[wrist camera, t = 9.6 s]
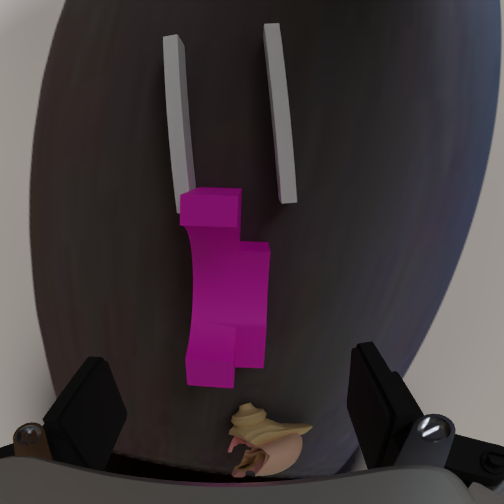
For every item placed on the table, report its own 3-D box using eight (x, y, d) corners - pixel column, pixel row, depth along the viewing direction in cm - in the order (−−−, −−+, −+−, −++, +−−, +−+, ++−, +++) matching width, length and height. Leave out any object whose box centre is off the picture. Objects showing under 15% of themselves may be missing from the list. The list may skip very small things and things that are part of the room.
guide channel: (276, 36, 23) (279, 23, 20) (292, 198, 27) (297, 202, 24) (171, 48, 24) (163, 36, 21) (184, 208, 27) (176, 213, 25)
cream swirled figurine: (205, 408, 34) (234, 415, 26) (277, 387, 39) (321, 386, 31) (224, 474, 31) (258, 496, 23) (293, 449, 36) (338, 459, 28)
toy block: (262, 342, 31) (264, 389, 24) (200, 339, 31) (187, 384, 24) (271, 189, 27) (277, 197, 20) (199, 186, 27) (180, 194, 20)
